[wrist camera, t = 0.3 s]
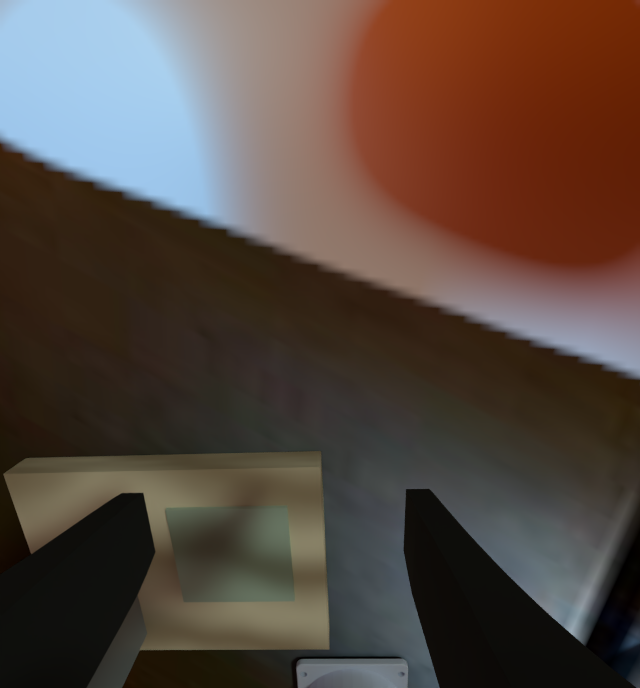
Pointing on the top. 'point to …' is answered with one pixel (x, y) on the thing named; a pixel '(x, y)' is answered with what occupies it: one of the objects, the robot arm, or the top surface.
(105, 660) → the grey matte cube
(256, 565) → the board
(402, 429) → the top surface
